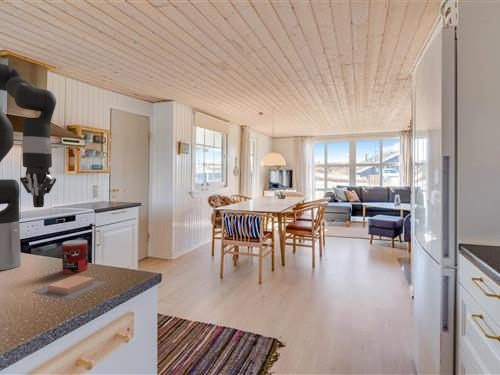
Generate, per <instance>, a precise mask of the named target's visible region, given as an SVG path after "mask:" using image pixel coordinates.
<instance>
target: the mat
mask: <svg viewBox="0 0 500 375" xmlns="http://www.w3.org/2000/svg"><path fill="white" fill-rule="evenodd" d="M105 284H106V282H104V281H99V280H98V281H97V280H94V284H92V285H90V286H87V287H85V288H83V289H80V290H78V291H76V292H74V293H71V294H69V295H67V294H61V293H55V292H49V291H48V285H47V286H44V287H40V288H39V289H36V290H33V291H31V293H33V294H39V295H45V296H52V297H56V298H62V299H69V300H71V299H74V298H75V297H79V296H80V295H82V294H85V293H87V292H89V291H91V290H93V289H96V288H98V287H100V286H102V285H105Z"/></svg>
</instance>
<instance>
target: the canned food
mask: <svg viewBox="0 0 500 375" xmlns="http://www.w3.org/2000/svg"><path fill="white" fill-rule="evenodd" d="M88 244H89V242H88V240H87V239H72V240H71V239H70V240H67V241H64V242H62V244H61V256H62V259H61V262H62V263H61V264H62V267H61V268H62V273H63V274H66V275H73V274H80V273H83V272H85V271H87V270H88V269H89V253H88V252H89V250H88V249H89V248H88V247H89V245H88Z"/></svg>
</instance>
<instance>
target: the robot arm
mask: <svg viewBox="0 0 500 375" xmlns="http://www.w3.org/2000/svg"><path fill="white" fill-rule="evenodd" d="M0 91H3V92H4V91H5V92H7V93H8V95H10V97H12V98H13V99H14V102H15V105H16V106H17V107H18V108H20V109H23V110H26V111H27V110H29V111H34V112H40V114H39V115H38V117H26V118H24V119H23V120H22V142H21V152H22V153H21V155H22V156H21V157H22V160H21V161H22V167H23V168H26V171H25V175H24V177H22V176H21V177H20V178H19V181H20V183H21V184H22V185H23V187H24V189H25V191H26V193H28V194H31V196H32V205H33V208H38V209H39V208H43V207H44V205H45V195H46V194H49V193H50V192H51V190H52V189H53V187H54V185H55V184H56V182H57V178H56V177H52V176H51V172H50V168H52V167H53V160H52V159H53V158H52V156H53V150H52V149H53V148H52V141H51V123H52V119H53V115H54V112H55V109H56V107H57V99H56V96H55V94H54V93H53V92H52V91H50V90H48V89H44V88H39V87H36V86H35V85H34V84H32V83H31V82H29V81H27V80H26V79H24V78H23V76H22V75H21V74H20V73H19V71H18V70H17V69H16V68H14V67H13V66H10V65H7V64H4V63H0ZM14 140H15V139H14V126H13V124H12V122H11V121H10V119H9V118H8V116H7V115H6V114H5V113H4V112H3V110H2V109H1V108H0V163H1V162H2V161H3V160H4V159H5V157H7V155H8V154H9V152H11V150H12V149H13V147H14V145H15V144H14ZM20 190H21V189H20V184H19V182H18V180H16V179H7V178H6V179H2V178H1V179H0V205H7V206H6V207H5V208H3V209H1V210H0V271H4V270H5V271H6V270H10V269H14V268H18V267H19V266H21V265H22V264H21V263H22V262H21V232H20V231H21V229H20V224H21V223H20Z"/></svg>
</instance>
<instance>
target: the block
mask: <svg viewBox="0 0 500 375" xmlns="http://www.w3.org/2000/svg"><path fill="white" fill-rule="evenodd" d="M94 281H95V277H87V276H81V275H80V276H79V275H72V276H69V277H66V278H64V279H61V280H59V281H56V282H53V283H50V284H48V285H47V286H48V291H49V292H55V293H61V294H67V295H69V294H71V293H74V292H76V291H78V290H80V289H83V288H85V287H87V286H90V285H92V284H94Z"/></svg>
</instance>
